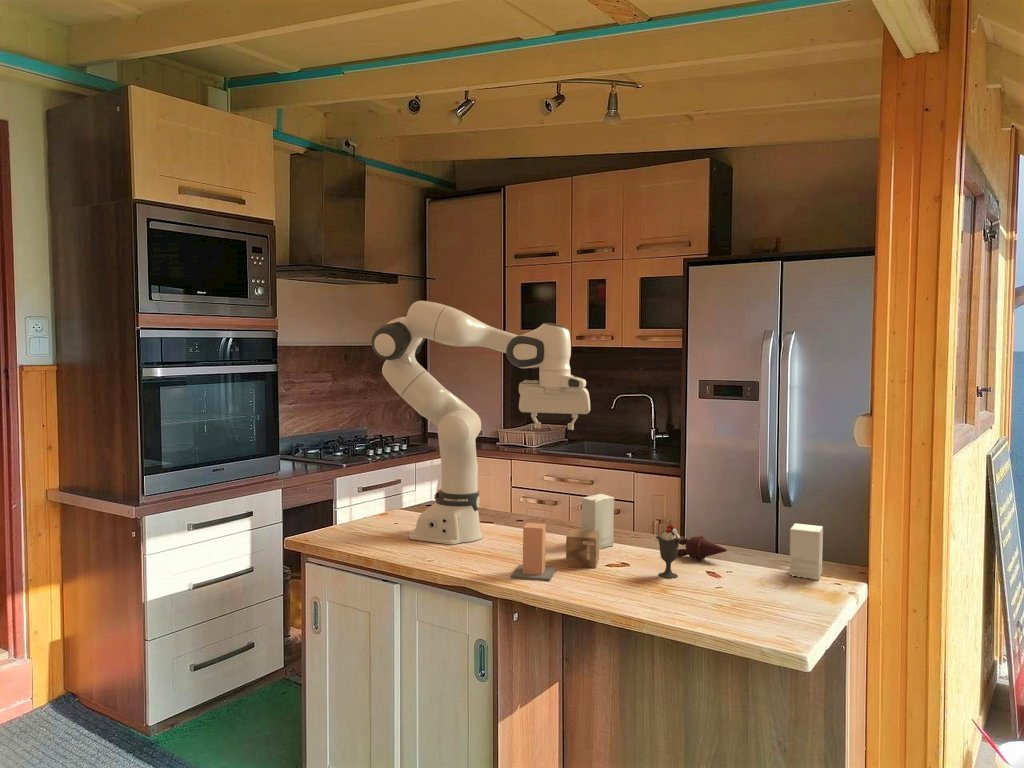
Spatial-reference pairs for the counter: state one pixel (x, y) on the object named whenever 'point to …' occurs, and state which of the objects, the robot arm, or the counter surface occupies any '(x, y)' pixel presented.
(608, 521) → the skincare box
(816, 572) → the supplement box
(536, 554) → the terracotta pillar
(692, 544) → the icecream
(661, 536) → the sundae
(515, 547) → the counter surface
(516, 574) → the grey mat
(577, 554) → the lettered block
